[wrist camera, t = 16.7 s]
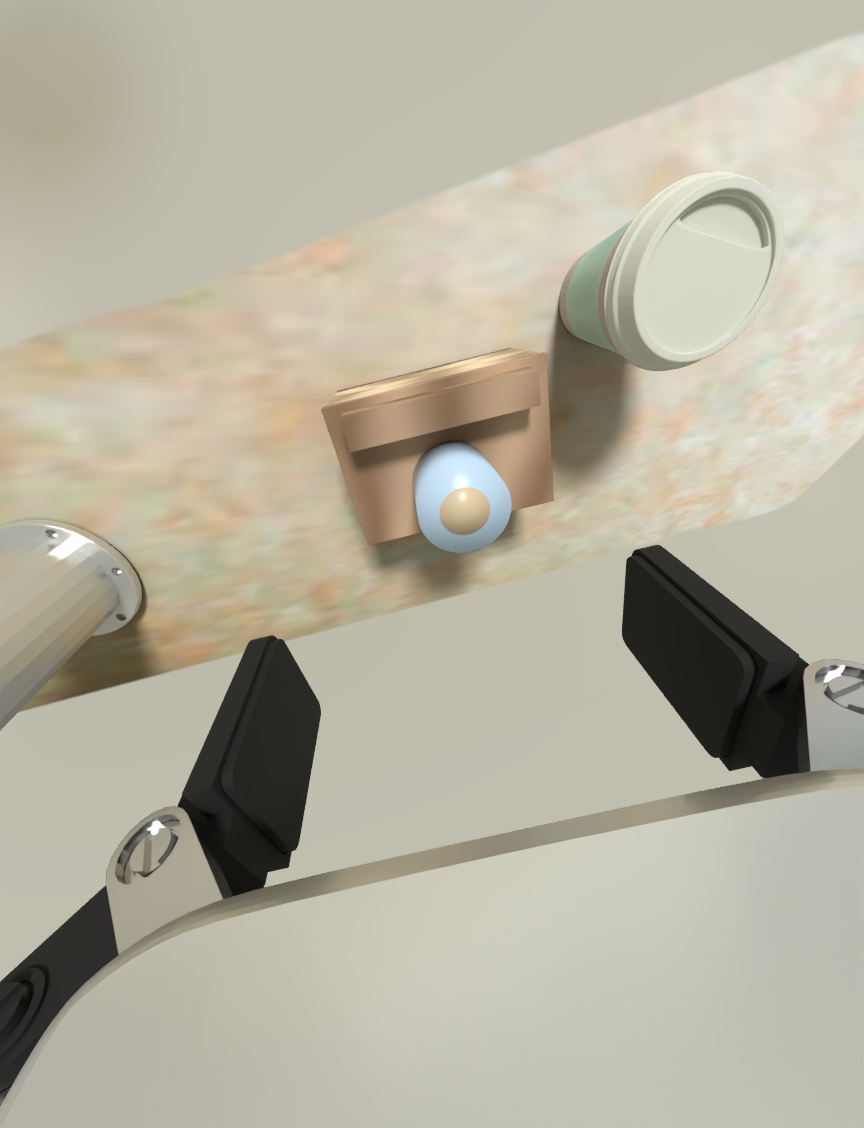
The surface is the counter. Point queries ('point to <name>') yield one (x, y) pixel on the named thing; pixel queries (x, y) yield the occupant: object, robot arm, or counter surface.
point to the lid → (444, 438)
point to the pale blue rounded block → (459, 497)
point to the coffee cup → (679, 273)
